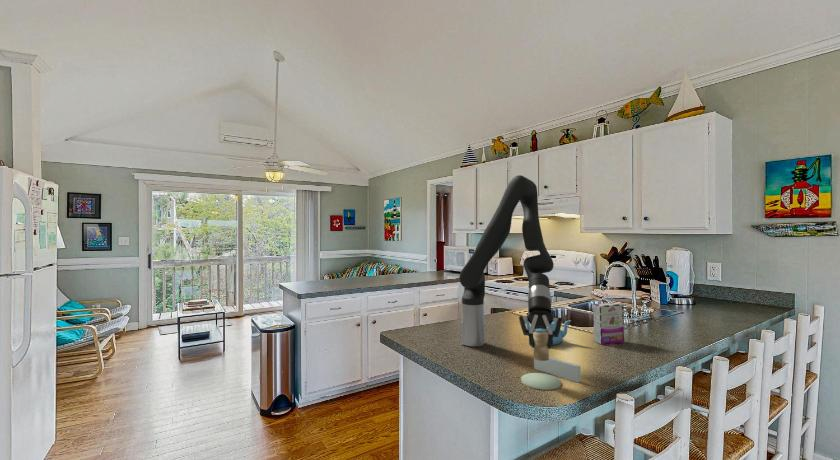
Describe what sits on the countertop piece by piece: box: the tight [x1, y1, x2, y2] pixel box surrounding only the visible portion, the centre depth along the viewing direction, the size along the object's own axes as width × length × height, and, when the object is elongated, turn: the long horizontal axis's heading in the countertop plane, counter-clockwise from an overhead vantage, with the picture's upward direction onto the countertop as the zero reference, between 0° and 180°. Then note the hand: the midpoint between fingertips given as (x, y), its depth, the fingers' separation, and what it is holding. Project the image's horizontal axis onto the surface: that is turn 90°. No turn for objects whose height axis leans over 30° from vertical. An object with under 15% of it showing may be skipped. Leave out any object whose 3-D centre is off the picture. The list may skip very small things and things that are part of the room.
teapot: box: [525, 319, 572, 346], centre depth 161 cm, size 15×15×10 cm
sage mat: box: [520, 372, 562, 391], centre depth 118 cm, size 12×12×1 cm
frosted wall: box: [533, 356, 582, 383], centre depth 123 cm, size 16×2×5 cm, turn 39°
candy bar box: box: [592, 302, 625, 346], centre depth 158 cm, size 11×5×16 cm, turn 102°
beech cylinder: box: [533, 331, 550, 361], centre depth 118 cm, size 4×4×8 cm
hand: (541, 346), depth 116 cm, fingers closed on beech cylinder, 4 cm apart
